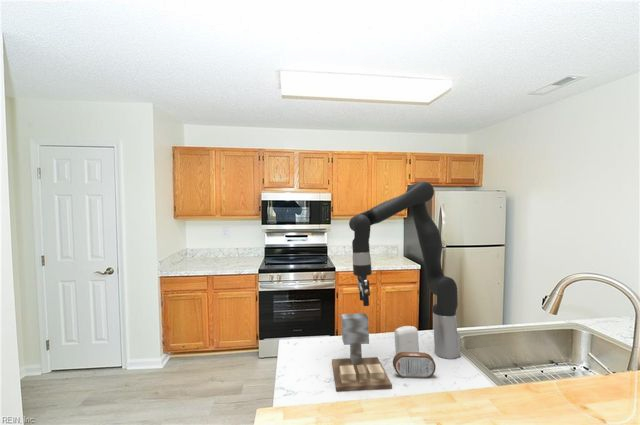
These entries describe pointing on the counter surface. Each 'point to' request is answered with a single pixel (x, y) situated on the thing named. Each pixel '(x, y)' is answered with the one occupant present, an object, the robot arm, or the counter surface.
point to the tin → (414, 364)
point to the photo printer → (406, 339)
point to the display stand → (358, 359)
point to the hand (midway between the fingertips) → (364, 302)
